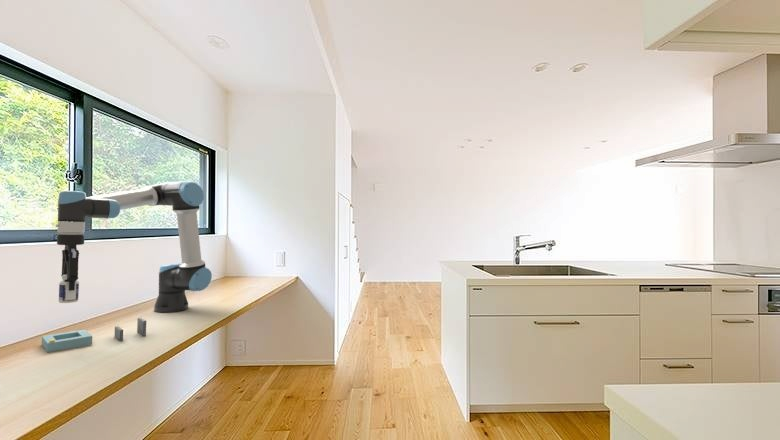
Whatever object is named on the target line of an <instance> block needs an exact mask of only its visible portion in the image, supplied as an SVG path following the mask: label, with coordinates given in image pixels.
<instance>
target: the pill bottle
mask: <svg viewBox="0 0 780 440" xmlns="http://www.w3.org/2000/svg"><path fill="white" fill-rule="evenodd" d="M61 275H62V274H61ZM61 279H62V280H61V281H60V282H59V284H58V302H59V304H70V303H76V302H78V301H79V290H80V281H79V280H76V299H73V300H65V297H66V282H64V280H67V274H66V275H62V276H61Z"/></svg>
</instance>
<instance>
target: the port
mask: <svg viewBox="0 0 780 440" xmlns="http://www.w3.org/2000/svg"><path fill="white" fill-rule="evenodd" d="M92 344H93V335H92V334H91V333H90V332H88V331H87V330H86V329H80V330H72V331H67V332H66V331H65V332H59V333H54V334H46V335H41V346H42V347H43V348H44V351H46V353H53V352H58V351H62V350H68V349H73V348H79V347H84V346H90V345H92Z"/></svg>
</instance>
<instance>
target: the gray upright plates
mask: <svg viewBox="0 0 780 440" xmlns="http://www.w3.org/2000/svg"><path fill="white" fill-rule="evenodd" d="M136 326H137V327H136V333H137V334H138V336H139V335H140V336H141V337H146V336H147V320H146V319H144V318H142V317H137V325H136ZM114 338H115V339H116V340H118V341H119V342H123V340H124V329H122V327H120V326H118V325H117V326H114Z"/></svg>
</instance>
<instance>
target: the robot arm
mask: <svg viewBox="0 0 780 440" xmlns="http://www.w3.org/2000/svg"><path fill="white" fill-rule="evenodd" d="M57 199H58V200H57V201H58V202H57V224H55V225H54V227H55V228H57V233H58V234H57V235H56V244H57V245H58V246H64V248H63V249H62V251H61V256H62V259H61V262H62V263H61V275H60V276H61V277H62V275H66V274H67V280H64V282H66V297H65V300H73V299H76V280H78V279H79V257H80V252H79V249H78V248H77V247H78V246H82V245H84V244H85V234H84V233H85V231H86V219H107V220H108V219H115V218H117V217H118V216H119V214H120V212H121V211H122V210H127V209H132V208H138V207H143V206H148V207H154V206H155V207H156V206H168V207H169V206H170V207H172V211H173V212H174V213H175V214H176V219H177V228H178V229H177V230H178V240H179V248H180V249H179V250H180V256H181V257H180V258H181V262H180V263H172V264H165V265H160V267H159V272H158V296H157V298H156V301H155V304H154V306H153V311H154V312H155V313H176V312H180V311H181V312H182V311H186V310H188V309H189V300H188V298H187V296H186V291H191V292H202V291H204V290H205V289H207V288H208V287H209V285H210V284H211V281H212V276H213V275H212V271H211V270H210V269H209V268H208V267H206V261H204V260H203V259H202V251H201V242H200V233H199V225H198V224H199V222H198V214H197V213H198V211H199V210H200V208H201V207H200V205H201V204H203V201H204V199H205V193H204V191H203V188H202V187H201V186H200V185H199V183H196V182H193V181H186V180H185V181H168V182H163V183H158V184H153V185H147V186H145V187H143V188H141V189H134V190H128V191H121V192H113V193H108V194H107V193H106V194H100V195H93V196H88V197H87V194H86V192H85V191H78V190H61V191H59V193H58V198H57ZM78 281H79V280H78Z"/></svg>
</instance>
